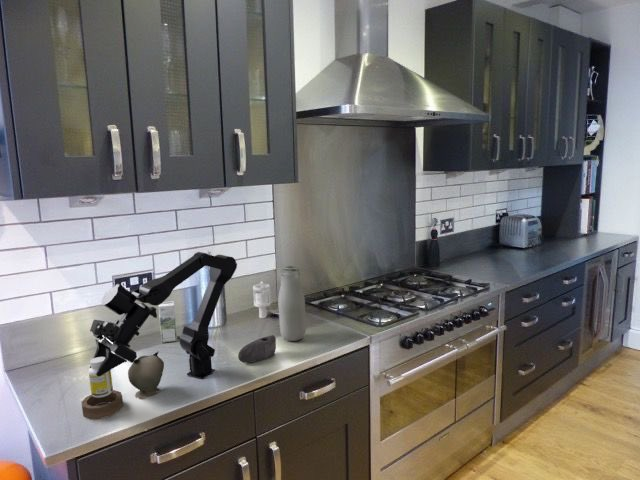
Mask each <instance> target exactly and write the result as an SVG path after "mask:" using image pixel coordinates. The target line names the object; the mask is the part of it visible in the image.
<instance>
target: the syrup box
mask: <svg viewBox="0 0 640 480" xmlns="http://www.w3.org/2000/svg"><path fill="white" fill-rule="evenodd" d="M175 306H176V305H175V301H174V300H171V301H170V300H169V301H164V302H163V303H161V304H160V305H158V315H159V327H160V338H161V343H162V344H163V343H171V342H178V334H177V323H176V321H177V320H176V310H175Z"/></svg>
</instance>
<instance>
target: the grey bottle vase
mask: <svg viewBox="0 0 640 480" xmlns="http://www.w3.org/2000/svg"><path fill="white" fill-rule="evenodd" d="M279 274H280V276H279V277H280V286H279V290H278V291H279V293H278V295H277V296H278V297H277V305H278V317H279V320H278V321H279V331H280V335H281V337H282V339H284V340H286V341H288V342H297V341H299V340H301V339H303V338H304V336H305V335H306V327H307V326H306V325H307V324H306V300H305V294H304V291H303V288H302V284H301V280H300V277H301V273H300V268H299V267H296V266H293V265H288V266H284V267H282V268H281V270H280V273H279Z"/></svg>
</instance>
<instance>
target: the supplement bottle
mask: <svg viewBox="0 0 640 480" xmlns="http://www.w3.org/2000/svg"><path fill="white" fill-rule="evenodd" d="M93 358H94V357H93ZM93 358H92V359H91V360H90V361H89V364H90V366H91V368H90V366H89V369H88V379H89V387H90V391H91V392H90V393H91V394H92V396H93V397H97V398H99V397H105V396H107V395H109V394H111V393H112V391H113V390H114V388H113V379H112V378H113V377H112V372H111V371H112V369H111V370H110V371H108V372H106V373H105V374H103V375H101V376H97V375H96V373H97V371H98V370H99V368H100V366H101V364H102V363H103V361H104V359H105V357H97V358H94V359H93ZM91 394H90V395H91Z"/></svg>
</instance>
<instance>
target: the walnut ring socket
mask: <svg viewBox="0 0 640 480" xmlns="http://www.w3.org/2000/svg"><path fill="white" fill-rule="evenodd" d="M100 404H102V405H100ZM123 407H124V399H123V395H122V392H121V391H119V390H115V389H113V391H112V393H111V394H109V395H107V396H105V397H99V398H97V397H93V396H92V394H89V395H88V396H85V397H84V399H83V400H81V409H82V415H83V417H84V418H87V419H89V420H96V419H103V418H107V417H111V416H113V415H115V414H117V413H119V412H120V411H121V410H122V408H123Z"/></svg>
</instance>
